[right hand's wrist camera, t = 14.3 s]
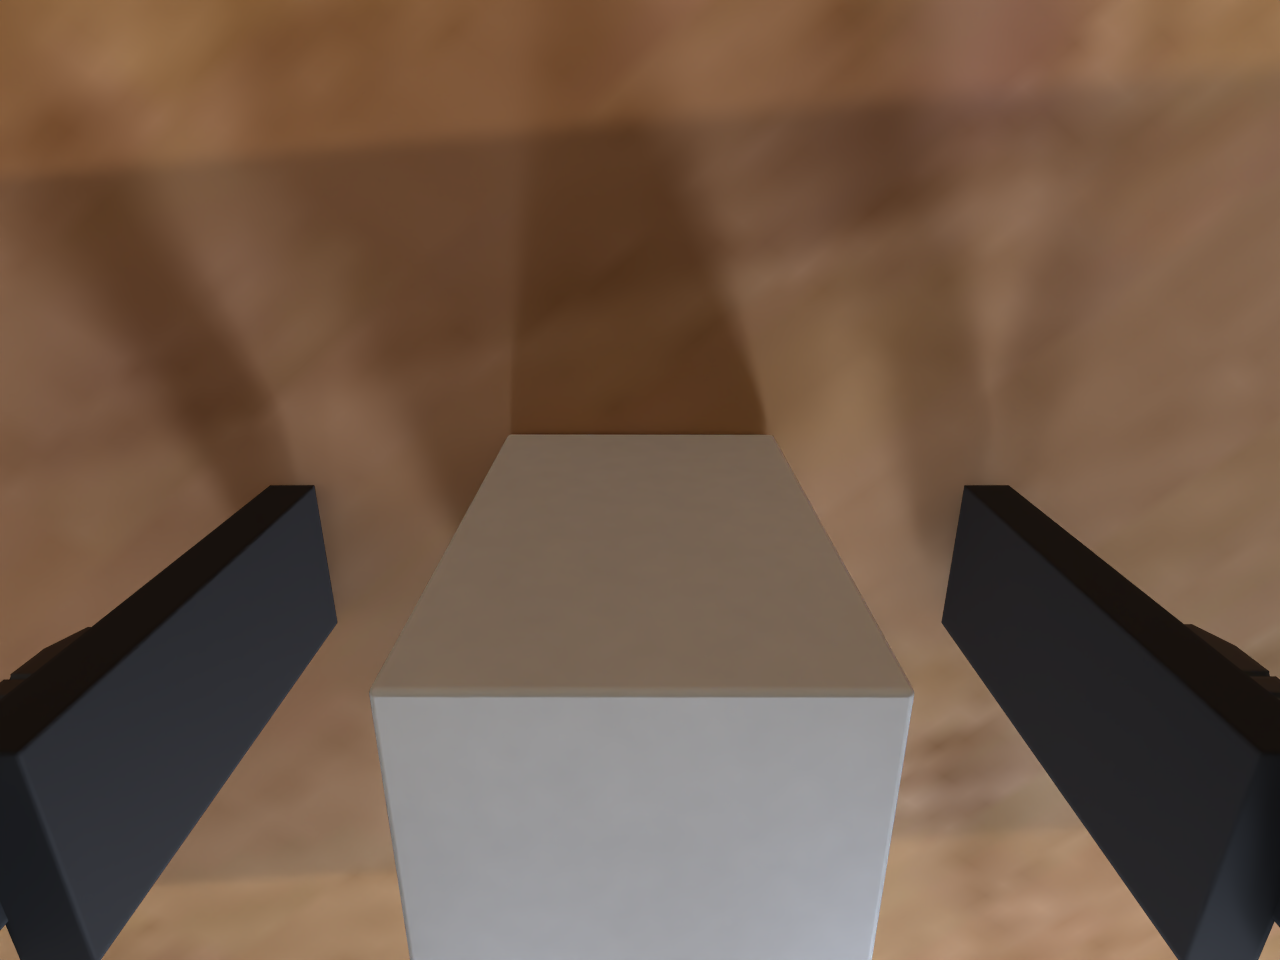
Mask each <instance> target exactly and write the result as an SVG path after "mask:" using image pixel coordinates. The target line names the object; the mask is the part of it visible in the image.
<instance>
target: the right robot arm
mask: <svg viewBox="0 0 1280 960" xmlns="http://www.w3.org/2000/svg"><path fill="white" fill-rule="evenodd" d="M336 624H337V617H336V611H335V605H334V599H333V593H332V588H331V582H330V576H329V570H328V564H327V558H326V552H325V546H324V540H323V534H322V528H321V522H320V516H319V510H318V504H317V498H316V492H315V487H314V485H270V486H269V487H268V488H266V489H265V490H264V491H263V492H261V493H260V494H259V495H258V496H256V497H255V498H254V499H253V500H251V501H250V502H249V503H248V504H246V505H245V506H244V507H242V508H241V509H240V510H239V511H237V512H236V513H235V514H234V515H232V516H231V517H230V518H229V519H227V520H226V521H225V522H224V523H222V524H221V525H220V526H218V527H217V528H216V529H215V530H213V531H212V532H211V533H210V534H208V535H207V536H206V537H205V538H203V539H202V540H201V541H200V542H198V543H197V544H196V545H195V546H193V547H192V548H191V549H189V550H188V551H187V552H186V553H184V554H183V555H182V556H181V557H179V558H178V559H177V560H176V561H174V562H173V563H172V564H171V565H169V566H168V567H167V568H165V569H164V570H163V571H162V572H160V573H159V574H158V575H157V576H155V577H154V578H153V579H152V580H150V581H149V582H148V583H147V584H145V585H144V586H143V587H142V588H140V589H139V590H138V591H136V592H135V593H134V594H133V595H131V596H130V597H129V598H128V599H126V600H125V601H124V602H123V603H121V604H120V605H119V606H118V607H116V608H115V609H114V610H112V611H111V612H110V613H109V614H107V615H106V616H105V617H104V618H102V619H101V620H100V621H99V622H97V623H96V624H95V625H94V626H92V627H87V628H85V629H83V630H81V631H79V632H77V633H75V634H73V635H71V636H69V637H67V638H65V639H63V640H61V641H59V642H57V643H55V644H53V645H51V646H49V647H47V648H45V649H43V650H42V651H41V652H39V653H38V654H37V655H35V656H34V657H33V658H31V659H30V660H29V661H27V662H26V663H25V664H24V665H22V666H21V667H20V668H18V669H17V670H16V671H14V672H13V673H12V674H11V677H10V679H9V680H3V681H1V682H0V930H1V929H2V928H3V927H4V925H6V927H7V929H8V932H9V934H10V936H11V939H12V941H13V943H14V946H15V948H16V950H17V953H18V955H19V958H20V960H101V959H102V957H103V956H104V954H105V953H106V951H107V950H108V949H109V947H110V946H111V944H112V943H113V942H114V940H115V939H116V937H117V936H118V934H119V933H120V932H121V930H122V929H123V927H124V926H125V924H126V923H127V922H128V920H129V919H130V917H131V916H132V914H133V913H134V912H135V910H136V909H137V907H138V906H139V904H140V903H141V902H142V900H143V899H144V897H145V896H146V895H147V893H148V892H149V890H150V889H151V887H152V886H153V885H154V883H155V882H156V880H157V879H158V877H159V876H160V875H161V873H162V872H163V870H164V869H165V867H166V866H167V865H168V863H169V862H170V860H171V859H172V857H173V856H174V855H175V853H176V852H177V850H178V849H179V848H180V846H181V845H182V843H183V842H184V840H185V839H186V838H187V836H188V835H189V833H190V832H191V830H192V829H193V828H194V826H195V825H196V823H197V822H198V820H199V819H200V818H201V816H202V815H203V813H204V812H205V811H206V809H207V808H208V806H209V805H210V803H211V802H212V801H213V799H214V798H215V796H216V795H217V793H218V792H219V791H220V789H221V788H222V786H223V785H224V783H225V782H226V781H227V779H228V778H229V776H230V775H231V773H232V772H233V771H234V769H235V768H236V766H237V765H238V764H239V762H240V761H241V759H242V758H243V756H244V755H245V754H246V752H247V751H248V749H249V748H250V746H251V745H252V744H253V742H254V741H255V739H256V738H257V736H258V735H259V734H260V732H261V731H262V729H263V728H264V726H265V725H266V724H267V722H268V721H269V719H270V718H271V717H272V715H273V714H274V712H275V711H276V709H277V708H278V707H279V705H280V704H281V702H282V701H283V699H284V698H285V697H286V695H287V694H288V692H289V691H290V689H291V688H292V687H293V685H294V684H295V682H296V681H297V679H298V678H299V677H300V675H301V674H302V672H303V671H304V670H305V668H306V667H307V665H308V664H309V662H310V661H311V660H312V658H313V657H314V655H315V654H316V652H317V651H318V650H319V648H320V647H321V645H322V644H323V642H324V641H325V640H326V638H327V637H328V635H329V634H330V632H331V631H332V630H333V628H334V627H335V625H336ZM942 624H943V625H944V627H945V628H946V630H947V631H948V632H949V634H950V635H951V637H952V638H953V640H954V641H955V642H956V644H957V645H958V647H959V648H960V650H961V651H962V652H963V654H964V655H965V657H966V658H967V660H968V661H969V662H970V664H971V665H972V667H973V668H974V670H975V671H976V672H977V674H978V675H979V677H980V678H981V679H982V681H983V682H984V684H985V685H986V687H987V688H988V689H989V691H990V692H991V694H992V695H993V697H994V698H995V699H996V701H997V702H998V704H999V705H1000V707H1001V708H1002V709H1003V711H1004V712H1005V714H1006V715H1007V717H1008V718H1009V719H1010V721H1011V722H1012V724H1013V725H1014V726H1015V728H1016V729H1017V731H1018V732H1019V734H1020V735H1021V736H1022V738H1023V739H1024V741H1025V742H1026V744H1027V745H1028V746H1029V748H1030V749H1031V751H1032V752H1033V754H1034V755H1035V756H1036V758H1037V759H1038V761H1039V762H1040V764H1041V765H1042V766H1043V768H1044V769H1045V771H1046V772H1047V773H1048V775H1049V776H1050V778H1051V779H1052V781H1053V782H1054V783H1055V785H1056V786H1057V788H1058V789H1059V791H1060V792H1061V793H1062V795H1063V796H1064V798H1065V799H1066V801H1067V802H1068V803H1069V805H1070V806H1071V808H1072V809H1073V811H1074V812H1075V813H1076V815H1077V816H1078V818H1079V819H1080V820H1081V822H1082V823H1083V825H1084V826H1085V828H1086V829H1087V830H1088V832H1089V833H1090V835H1091V836H1092V838H1093V839H1094V840H1095V842H1096V843H1097V845H1098V846H1099V848H1100V849H1101V850H1102V852H1103V853H1104V855H1105V856H1106V858H1107V859H1108V860H1109V862H1110V863H1111V865H1112V866H1113V867H1114V869H1115V870H1116V872H1117V873H1118V875H1119V876H1120V877H1121V879H1122V880H1123V882H1124V883H1125V885H1126V886H1127V887H1128V889H1129V890H1130V892H1131V893H1132V895H1133V896H1134V897H1135V899H1136V900H1137V902H1138V903H1139V905H1140V906H1141V907H1142V909H1143V910H1144V912H1145V913H1146V914H1147V916H1148V917H1149V919H1150V920H1151V922H1152V923H1153V924H1154V926H1155V927H1156V929H1157V930H1158V932H1159V933H1160V934H1161V936H1162V937H1163V939H1164V940H1165V942H1166V943H1167V944H1168V946H1169V947H1170V949H1171V950H1172V952H1173V953H1174V954H1175V956H1176V957H1177V959H1178V960H1258V959H1259V957H1260V954H1261V952H1262V950H1263V947H1264V945H1265V943H1266V940H1267V938H1268V935H1269V933H1270V931H1271V928H1272V926H1273V924H1274V921H1275V922H1276V923H1277V925H1278V926H1279V927H1280V679H1278V678H1277V677H1270V675H1269V671H1268V670H1267V669H1265V668H1264V667H1263V666H1261V665H1260V664H1259V663H1257V662H1256V661H1255V660H1253V659H1252V658H1251V657H1249V656H1248V655H1247V654H1246V653H1244V652H1243V651H1242V650H1240V649H1239V648H1238V647H1236V646H1235V645H1233V644H1231V643H1229V642H1227V641H1225V640H1223V639H1221V638H1219V637H1217V636H1215V635H1212V634H1210V633H1208V632H1206V631H1204V630H1202V629H1200V628H1198V627H1196V626H1194V625H1192V624H1183V623H1182V622H1180V621H1179V620H1178V619H1177V618H1175V617H1174V616H1173V615H1171V614H1170V613H1169V612H1168V611H1166V610H1165V609H1164V608H1163V607H1161V606H1160V605H1159V604H1158V603H1156V602H1155V601H1154V600H1153V599H1151V598H1150V597H1149V596H1147V595H1146V594H1145V593H1144V592H1142V591H1141V590H1140V589H1139V588H1137V587H1136V586H1135V585H1134V584H1132V583H1131V582H1130V581H1129V580H1127V579H1126V578H1125V577H1124V576H1122V575H1121V574H1120V573H1118V572H1117V571H1116V570H1115V569H1113V568H1112V567H1111V566H1110V565H1108V564H1107V563H1106V562H1105V561H1103V560H1102V559H1101V558H1100V557H1098V556H1097V555H1096V554H1094V553H1093V552H1092V551H1091V550H1089V549H1088V548H1087V547H1086V546H1084V545H1083V544H1082V543H1081V542H1079V541H1078V540H1077V539H1076V538H1074V537H1073V536H1072V535H1071V534H1069V533H1068V532H1067V531H1065V530H1064V529H1063V528H1062V527H1060V526H1059V525H1058V524H1057V523H1055V522H1054V521H1053V520H1052V519H1050V518H1049V517H1048V516H1047V515H1045V514H1044V513H1043V512H1042V511H1040V510H1039V509H1038V508H1036V507H1035V506H1034V505H1033V504H1031V503H1030V502H1029V501H1028V500H1026V499H1025V498H1024V497H1023V496H1021V495H1020V494H1019V493H1018V492H1016V491H1015V490H1014V489H1012V488H1011V487H1010V486H1009V485H965V486H964V492H963V498H962V504H961V510H960V516H959V522H958V528H957V533H956V539H955V545H954V551H953V557H952V563H951V569H950V575H949V581H948V587H947V593H946V599H945V605H944V611H943V617H942Z"/></svg>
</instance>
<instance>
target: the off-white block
mask: <svg viewBox="0 0 1280 960" xmlns="http://www.w3.org/2000/svg"><path fill="white" fill-rule="evenodd" d="M369 695H370V702H371V708H372V715H373V721H374V728H375V734H376V741H377V747H378V754H379V760H380V767H381V773H382V780H383V786H384V793H385V799H386V806H387V812H388V818H389V825H390V831H391V838H392V844H393V851H394V857H395V864H396V870H397V877H398V883H399V890H400V896H401V903H402V909H403V916H404V922H405V929H406V935H407V942H408V948H409V955H410V960H872V954H873V948H874V942H875V936H876V929H877V923H878V917H879V911H880V904H881V898H882V892H883V886H884V879H885V873H886V867H887V861H888V854H889V848H890V842H891V836H892V829H893V823H894V817H895V811H896V804H897V798H898V792H899V786H900V779H901V773H902V767H903V761H904V754H905V748H906V742H907V736H908V729H909V723H910V717H911V711H912V704H913V698H914V691H913V688H912V686H911V684H910V682H909V681H908V679H907V677H906V675H905V673H904V672H903V670H902V668H901V666H900V664H899V663H898V661H897V659H896V657H895V655H894V654H893V652H892V650H891V648H890V646H889V645H888V643H887V641H886V639H885V637H884V635H883V634H882V632H881V630H880V628H879V626H878V625H877V623H876V621H875V619H874V617H873V616H872V614H871V612H870V610H869V608H868V607H867V605H866V603H865V601H864V599H863V598H862V596H861V594H860V592H859V590H858V589H857V587H856V585H855V583H854V581H853V579H852V578H851V576H850V574H849V572H848V570H847V569H846V567H845V565H844V563H843V561H842V560H841V558H840V556H839V554H838V552H837V551H836V549H835V547H834V545H833V543H832V542H831V540H830V538H829V536H828V534H827V533H826V531H825V529H824V527H823V525H822V523H821V522H820V520H819V518H818V516H817V514H816V513H815V511H814V509H813V507H812V505H811V504H810V502H809V500H808V498H807V496H806V495H805V493H804V491H803V489H802V487H801V486H800V484H799V482H798V480H797V478H796V477H795V475H794V473H793V471H792V469H791V467H790V466H789V464H788V462H787V460H786V458H785V457H784V455H783V453H782V451H781V449H780V448H779V446H778V444H777V442H776V440H775V439H774V437H773V436H772V435H515V434H511V435H508V437H507V438H506V440H505V442H504V444H503V446H502V448H501V449H500V451H499V453H498V455H497V457H496V459H495V460H494V462H493V464H492V466H491V468H490V470H489V471H488V473H487V475H486V477H485V479H484V481H483V483H482V484H481V486H480V488H479V490H478V492H477V494H476V495H475V497H474V499H473V501H472V503H471V505H470V506H469V508H468V510H467V512H466V514H465V516H464V517H463V519H462V521H461V523H460V525H459V527H458V528H457V530H456V532H455V534H454V536H453V538H452V539H451V541H450V543H449V545H448V547H447V549H446V550H445V552H444V554H443V556H442V558H441V560H440V561H439V563H438V565H437V567H436V569H435V571H434V572H433V574H432V576H431V578H430V580H429V582H428V583H427V585H426V587H425V589H424V591H423V593H422V595H421V596H420V598H419V600H418V602H417V604H416V606H415V607H414V609H413V611H412V613H411V615H410V617H409V618H408V620H407V622H406V624H405V626H404V628H403V629H402V631H401V633H400V635H399V637H398V639H397V640H396V642H395V644H394V646H393V648H392V650H391V651H390V653H389V655H388V657H387V659H386V661H385V662H384V664H383V666H382V668H381V670H380V672H379V673H378V675H377V677H376V679H375V681H374V683H373V684H372V686H371V689H370V691H369Z"/></svg>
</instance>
